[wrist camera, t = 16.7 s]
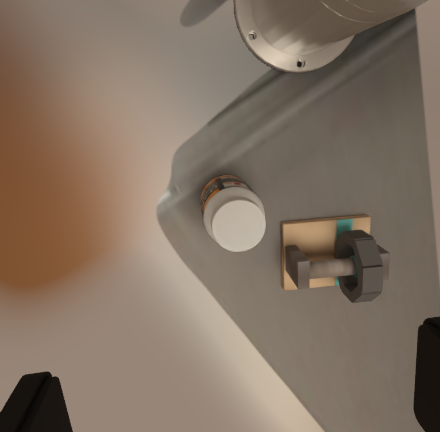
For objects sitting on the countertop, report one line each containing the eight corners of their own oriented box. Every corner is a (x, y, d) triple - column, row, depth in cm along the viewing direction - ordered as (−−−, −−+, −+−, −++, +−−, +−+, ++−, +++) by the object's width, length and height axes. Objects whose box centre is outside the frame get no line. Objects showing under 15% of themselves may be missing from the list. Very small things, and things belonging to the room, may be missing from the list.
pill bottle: (200, 173, 41) (205, 192, 31) (253, 174, 41) (274, 193, 32) (199, 224, 42) (203, 257, 33) (250, 225, 43) (269, 257, 33)
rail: (281, 222, 43) (296, 239, 37) (366, 214, 44) (393, 229, 38) (282, 286, 45) (296, 311, 40) (363, 278, 46) (389, 301, 40)
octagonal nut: (335, 225, 42) (364, 246, 36) (352, 223, 43) (384, 244, 36) (334, 282, 44) (361, 313, 38) (350, 280, 44) (380, 311, 38)
